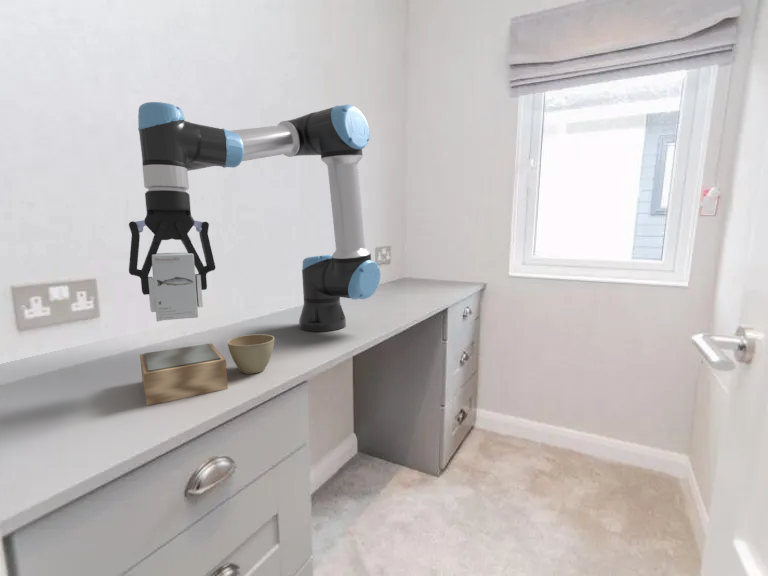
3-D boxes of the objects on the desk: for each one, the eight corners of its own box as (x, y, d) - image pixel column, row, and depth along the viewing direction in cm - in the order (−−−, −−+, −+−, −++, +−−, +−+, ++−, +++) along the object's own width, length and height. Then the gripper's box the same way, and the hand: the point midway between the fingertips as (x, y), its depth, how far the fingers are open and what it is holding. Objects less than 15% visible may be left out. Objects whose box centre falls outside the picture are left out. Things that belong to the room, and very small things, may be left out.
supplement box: (155, 322, 75) (149, 254, 74) (157, 315, 82) (151, 253, 80) (199, 318, 79) (194, 253, 77) (197, 311, 85) (192, 251, 83)
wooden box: (213, 368, 92) (211, 342, 91) (227, 388, 81) (225, 358, 80) (142, 382, 84) (139, 353, 84) (146, 405, 73) (143, 372, 72)
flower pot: (284, 365, 94) (283, 335, 93) (258, 380, 85) (256, 347, 84) (248, 361, 97) (247, 332, 96) (219, 375, 88) (217, 343, 87)
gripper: (219, 194, 86) (226, 300, 89) (102, 190, 74) (115, 311, 78) (227, 191, 79) (234, 305, 83) (101, 186, 68) (115, 318, 71)
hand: (177, 308), depth 80 cm, fingers closed on supplement box, 8 cm apart
